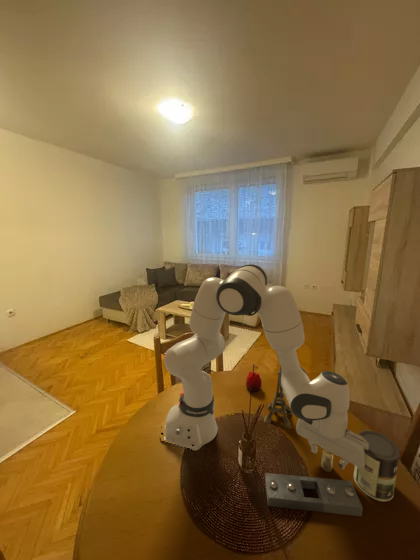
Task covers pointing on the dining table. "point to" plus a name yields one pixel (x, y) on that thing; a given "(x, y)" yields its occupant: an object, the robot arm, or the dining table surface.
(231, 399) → the dining table surface
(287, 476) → the grey peg board
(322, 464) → the pin
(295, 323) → the robot arm
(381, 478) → the coffee can
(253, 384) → the red rounded piece
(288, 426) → the eiffel tower
